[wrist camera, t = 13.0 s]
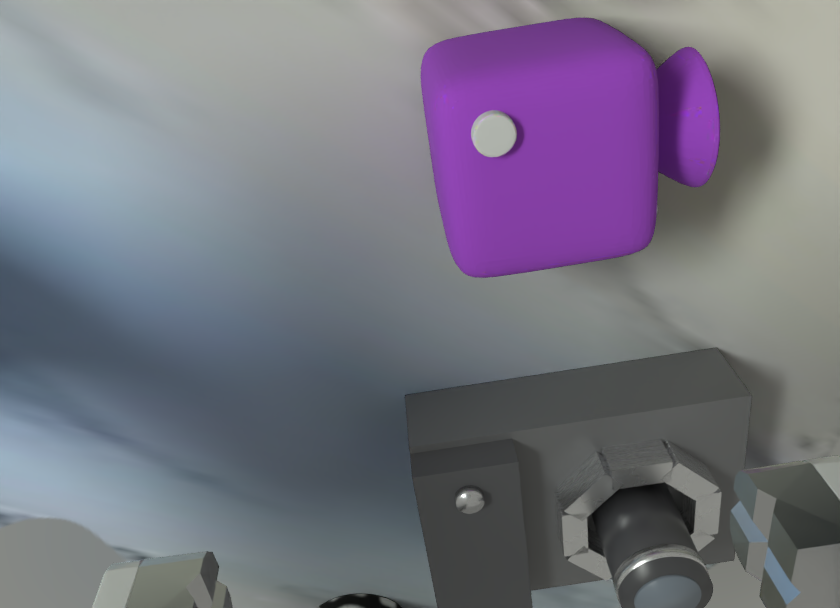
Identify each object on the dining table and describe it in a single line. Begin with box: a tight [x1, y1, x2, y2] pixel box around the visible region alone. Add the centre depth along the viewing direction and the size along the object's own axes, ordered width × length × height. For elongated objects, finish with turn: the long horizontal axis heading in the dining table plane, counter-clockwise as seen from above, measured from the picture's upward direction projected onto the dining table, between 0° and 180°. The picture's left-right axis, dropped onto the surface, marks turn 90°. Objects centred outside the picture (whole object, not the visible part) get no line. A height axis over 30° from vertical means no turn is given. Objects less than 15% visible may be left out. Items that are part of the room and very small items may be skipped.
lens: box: [591, 482, 713, 608], centre depth 44 cm, size 5×5×7 cm
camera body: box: [405, 348, 752, 608], centre depth 48 cm, size 20×14×8 cm
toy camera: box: [421, 18, 720, 278], centre depth 35 cm, size 11×14×10 cm
